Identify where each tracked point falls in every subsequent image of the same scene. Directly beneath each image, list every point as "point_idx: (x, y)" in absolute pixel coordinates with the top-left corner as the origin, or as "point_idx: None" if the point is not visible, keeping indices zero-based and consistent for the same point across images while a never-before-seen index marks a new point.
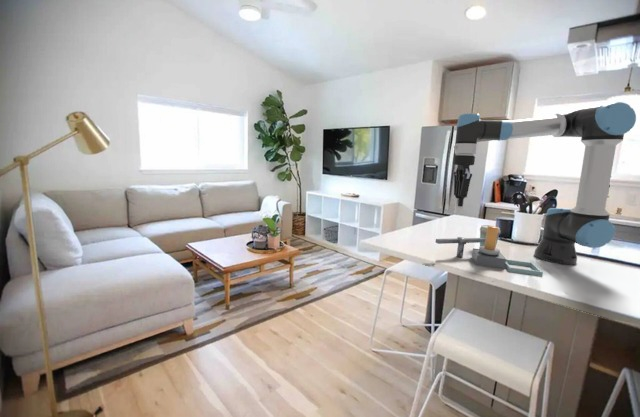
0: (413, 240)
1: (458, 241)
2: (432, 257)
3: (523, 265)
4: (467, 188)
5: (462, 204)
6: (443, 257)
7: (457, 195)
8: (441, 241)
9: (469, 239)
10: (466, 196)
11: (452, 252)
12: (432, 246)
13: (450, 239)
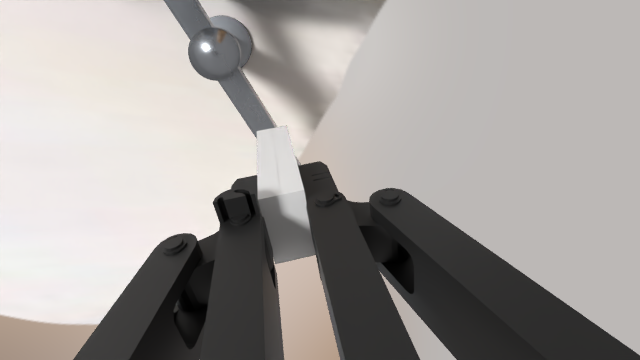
0: (27, 218)
1: (244, 75)
2: (256, 150)
3: None
4: (496, 270)
5: (327, 171)
6: (235, 109)
7: (272, 269)
8: (296, 159)
9: (200, 7)
10: (405, 195)
11: (127, 58)
12: (78, 141)
13: (262, 120)
